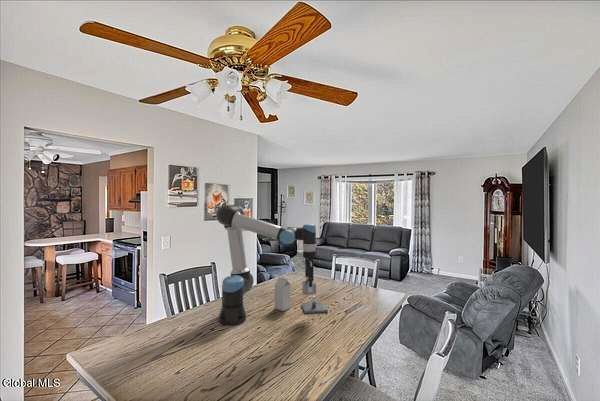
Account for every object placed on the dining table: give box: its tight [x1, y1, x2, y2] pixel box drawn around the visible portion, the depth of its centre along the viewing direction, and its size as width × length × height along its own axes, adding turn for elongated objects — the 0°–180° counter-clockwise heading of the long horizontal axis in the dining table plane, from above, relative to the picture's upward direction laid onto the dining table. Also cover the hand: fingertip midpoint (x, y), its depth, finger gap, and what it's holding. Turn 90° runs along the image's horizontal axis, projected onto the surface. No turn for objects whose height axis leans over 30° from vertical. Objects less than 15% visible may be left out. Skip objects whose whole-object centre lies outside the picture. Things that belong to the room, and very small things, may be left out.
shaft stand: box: [300, 294, 329, 315], centre depth 179 cm, size 14×14×8 cm
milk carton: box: [274, 276, 292, 312], centre depth 179 cm, size 7×7×19 cm
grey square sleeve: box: [301, 280, 317, 296], centre depth 167 cm, size 7×7×6 cm
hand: (309, 289), depth 167 cm, fingers closed on grey square sleeve, 7 cm apart
